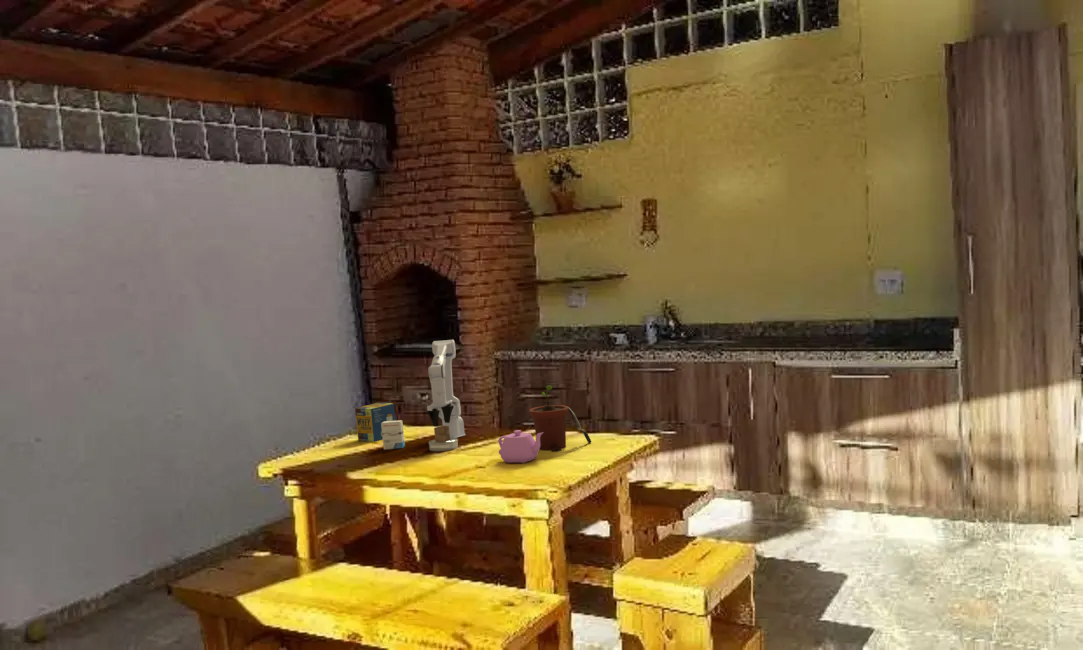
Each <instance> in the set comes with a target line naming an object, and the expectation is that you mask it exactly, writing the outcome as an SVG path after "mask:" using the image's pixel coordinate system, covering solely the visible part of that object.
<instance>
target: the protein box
mask: <svg viewBox="0 0 1083 650" xmlns="http://www.w3.org/2000/svg"><path fill="white" fill-rule="evenodd" d="M354 409H355V411H354V412H355V421H356V422H355V423H356V432H357V440H358V442H367V443H368V442H370V443H376V442H379V441H383V437H382V427H381V423H382V422H384V421H396V414H395V404H394V403H392V402H390V403H389V402H375V403H371V404H368V405H363V406H360V407H355V408H354Z"/></svg>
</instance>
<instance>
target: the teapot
mask: <svg viewBox="0 0 1083 650" xmlns="http://www.w3.org/2000/svg"><path fill="white" fill-rule="evenodd" d="M542 433H544V432H542ZM542 433H538V434H537V435H536V434H535V439H534V437H533V435H532V434H531V433H530V432H529V433H528V432H522V430H521V429H518V430H517V429H516V430H513V433H510V434H507V435H502V436H500V437H498V445H499V447H500V449H499V450H498V454H499V455H500V458H501V460H502V461H504V462H505V463H508V464H513V463H520V464H526V463H527V462H530V461H533V460H535V459H536V458H537V456H538V454H539V451H540V436H541V434H542Z"/></svg>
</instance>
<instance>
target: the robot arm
mask: <svg viewBox="0 0 1083 650" xmlns="http://www.w3.org/2000/svg"><path fill="white" fill-rule="evenodd" d="M431 343H432V344H431V349H432V354H433V357H432V360H431V365H430V366H428V371H427V372H428V377H429V383H430V387H431V395H432V396H431V397H432V403H431V404H430V405H427V406H426V414H428V416H429V418H430V419H431V422H432V423H431V424H432V425H433V427H438V426H440V425H439V424H440V422H439V420H441V422H442V426H449V432H450V438H457V439H458V438H460V437H461V438H462V437H464V436H466V435H467V434H466V432H465V423H464V419H463V418H462V417H461V413H462V408H461V401H460V398H458V397H456V396H455V395H454V388H453V387H454V385H453V383H454V382H453V368H452V363H453V359H456V356H457V355H456V354H457V352H456V342H455V340H454V339H447V340H433V342H431ZM439 418H440V419H439Z"/></svg>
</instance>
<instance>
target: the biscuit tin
mask: <svg viewBox="0 0 1083 650" xmlns="http://www.w3.org/2000/svg"><path fill="white" fill-rule="evenodd" d="M458 441H459V439H458V438H450V440H448V441H445V442H435V439H432V440H429V441H428V446H429V451H431V452H446V451H451V450H452V451H453V450H455V449H458V448H459V444H458V443H459V442H458Z"/></svg>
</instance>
